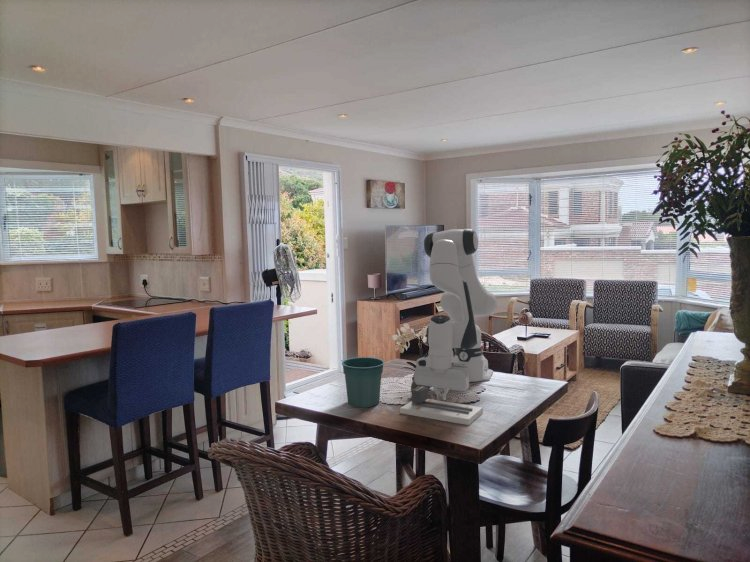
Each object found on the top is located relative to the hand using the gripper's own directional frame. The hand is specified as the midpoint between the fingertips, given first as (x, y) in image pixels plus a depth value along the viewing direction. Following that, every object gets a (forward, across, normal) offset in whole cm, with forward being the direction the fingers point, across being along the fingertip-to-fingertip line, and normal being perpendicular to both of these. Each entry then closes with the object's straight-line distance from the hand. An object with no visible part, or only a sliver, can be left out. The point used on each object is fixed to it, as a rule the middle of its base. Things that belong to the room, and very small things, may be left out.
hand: (441, 399), depth 193 cm
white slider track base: (+5, 0, 0) cm, 5 cm away
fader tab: (+3, +9, 0) cm, 9 cm away
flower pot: (+5, +31, +3) cm, 32 cm away
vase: (+5, +15, -13) cm, 20 cm away
